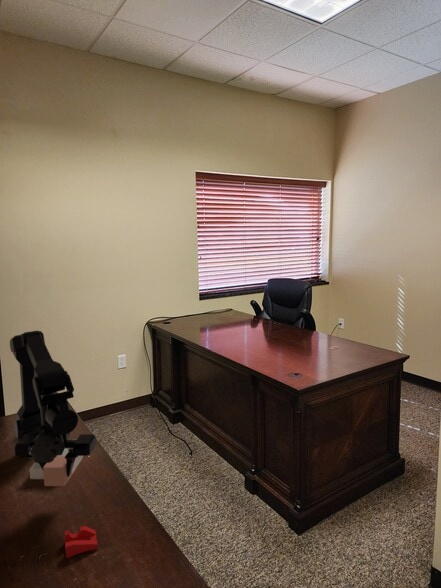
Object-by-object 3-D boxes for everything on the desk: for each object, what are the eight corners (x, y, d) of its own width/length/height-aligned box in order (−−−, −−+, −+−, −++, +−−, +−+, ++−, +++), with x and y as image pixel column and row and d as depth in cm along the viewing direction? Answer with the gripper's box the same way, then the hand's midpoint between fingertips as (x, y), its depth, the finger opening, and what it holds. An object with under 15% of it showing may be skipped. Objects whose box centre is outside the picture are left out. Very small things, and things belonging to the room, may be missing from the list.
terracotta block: (53, 473, 102) (51, 456, 101) (72, 473, 102) (71, 456, 101) (44, 486, 97) (43, 467, 96) (64, 485, 97) (63, 467, 96)
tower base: (47, 457, 121) (46, 439, 120) (83, 456, 121) (81, 438, 120) (30, 479, 110) (28, 459, 109) (69, 479, 110) (67, 459, 109)
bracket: (66, 559, 83) (65, 547, 82) (65, 543, 87) (64, 531, 87) (97, 550, 85) (96, 537, 85) (95, 534, 90) (94, 522, 89)
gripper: (-2, 435, 89) (4, 497, 91) (79, 434, 89) (83, 496, 91) (22, 412, 100) (28, 468, 102) (95, 412, 100) (98, 468, 102)
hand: (58, 475), depth 99 cm, fingers closed on terracotta block, 5 cm apart
